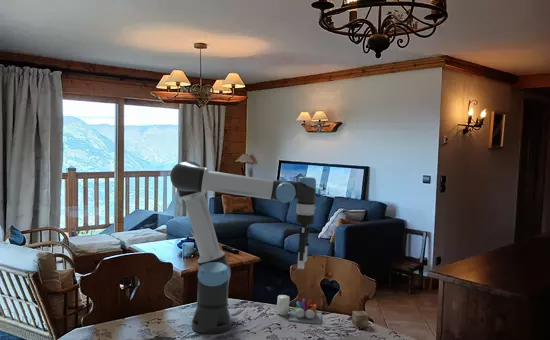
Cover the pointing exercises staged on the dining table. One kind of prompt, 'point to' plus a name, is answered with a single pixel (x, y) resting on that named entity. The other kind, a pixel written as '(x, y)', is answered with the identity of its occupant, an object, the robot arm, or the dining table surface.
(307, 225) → the robot arm
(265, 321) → the dining table surface
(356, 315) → the walnut block
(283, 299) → the white glossy rounded part
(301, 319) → the felt mat
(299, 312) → the rainbow wheeled toy
